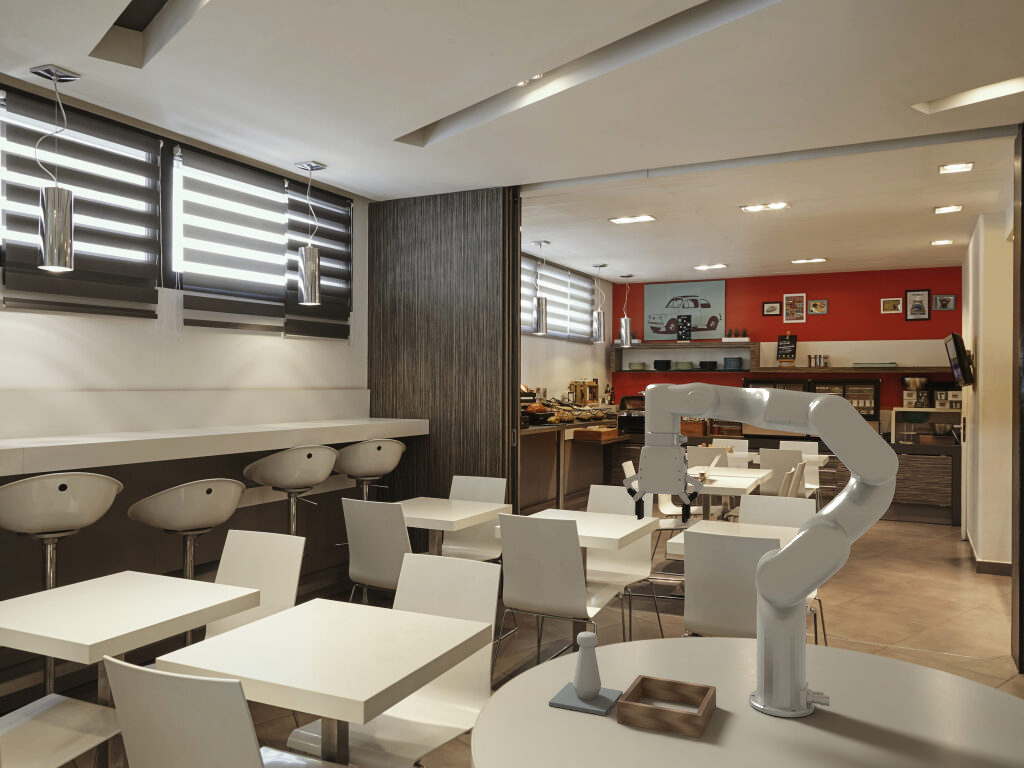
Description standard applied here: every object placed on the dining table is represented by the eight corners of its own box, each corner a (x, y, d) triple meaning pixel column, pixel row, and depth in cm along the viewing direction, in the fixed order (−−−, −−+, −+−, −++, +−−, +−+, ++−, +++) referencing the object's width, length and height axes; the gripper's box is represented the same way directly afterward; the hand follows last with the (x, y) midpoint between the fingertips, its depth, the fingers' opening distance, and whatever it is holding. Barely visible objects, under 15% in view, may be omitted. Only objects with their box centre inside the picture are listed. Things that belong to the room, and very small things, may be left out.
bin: (716, 706, 158) (716, 686, 159) (701, 737, 144) (701, 715, 144) (639, 693, 165) (639, 674, 165) (617, 722, 150) (617, 701, 151)
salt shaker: (599, 702, 158) (599, 638, 158) (571, 700, 159) (571, 636, 159) (602, 692, 164) (602, 630, 164) (575, 689, 165) (575, 628, 165)
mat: (622, 694, 164) (622, 690, 164) (605, 715, 154) (605, 711, 154) (569, 685, 169) (569, 682, 169) (548, 705, 158) (548, 701, 158)
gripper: (706, 441, 168) (706, 521, 167) (628, 439, 175) (628, 515, 175) (699, 443, 161) (699, 526, 161) (618, 440, 168) (618, 520, 168)
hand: (662, 520), depth 168 cm, fingers open, 9 cm apart
